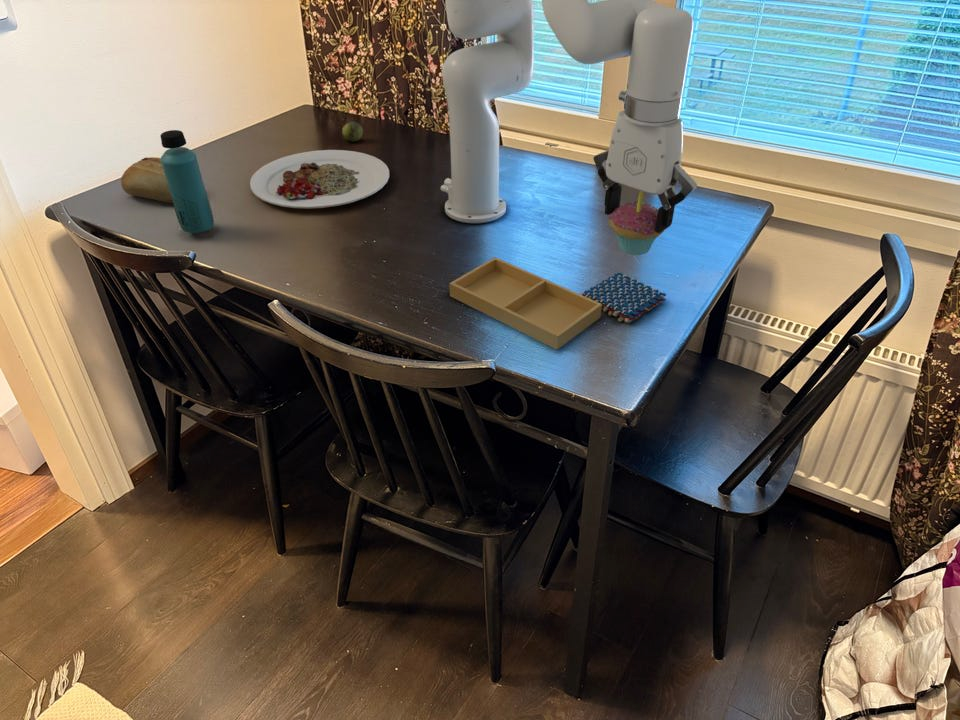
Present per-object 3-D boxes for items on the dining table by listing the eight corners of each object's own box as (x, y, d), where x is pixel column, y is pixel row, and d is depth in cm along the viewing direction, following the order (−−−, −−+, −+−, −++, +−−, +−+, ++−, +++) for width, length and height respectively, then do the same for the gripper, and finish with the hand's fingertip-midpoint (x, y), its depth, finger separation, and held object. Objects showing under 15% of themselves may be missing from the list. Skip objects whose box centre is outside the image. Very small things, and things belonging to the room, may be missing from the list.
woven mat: (616, 278, 126) (618, 268, 124) (667, 302, 119) (669, 292, 118) (577, 301, 120) (578, 290, 119) (628, 327, 114) (630, 317, 113)
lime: (340, 142, 177) (338, 122, 174) (355, 136, 180) (353, 117, 177) (352, 146, 175) (350, 126, 171) (367, 141, 177) (365, 121, 174)
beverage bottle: (223, 227, 142) (198, 128, 129) (203, 243, 137) (174, 141, 124) (195, 222, 143) (168, 124, 131) (174, 238, 138) (144, 136, 126)
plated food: (405, 161, 167) (404, 147, 165) (367, 220, 144) (365, 204, 142) (283, 153, 171) (281, 140, 169) (227, 209, 148) (223, 194, 146)
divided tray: (449, 296, 121) (449, 283, 120) (495, 269, 128) (495, 256, 127) (556, 350, 109) (558, 336, 108) (600, 317, 116) (602, 304, 115)
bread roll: (143, 184, 158) (131, 149, 153) (203, 191, 155) (193, 155, 150) (115, 202, 151) (102, 166, 146) (177, 210, 148) (166, 173, 143)
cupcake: (660, 263, 109) (673, 190, 102) (604, 258, 110) (612, 185, 103) (661, 237, 116) (672, 166, 108) (608, 232, 117) (616, 162, 110)
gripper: (585, 100, 102) (576, 212, 113) (695, 129, 93) (673, 247, 103) (614, 87, 106) (603, 196, 117) (722, 114, 97) (699, 229, 108)
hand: (636, 220), depth 110 cm, fingers closed on cupcake, 8 cm apart
